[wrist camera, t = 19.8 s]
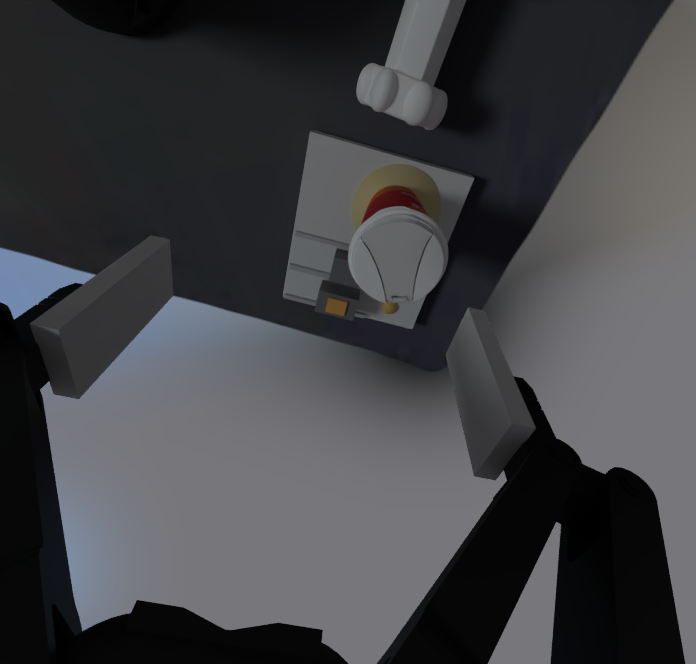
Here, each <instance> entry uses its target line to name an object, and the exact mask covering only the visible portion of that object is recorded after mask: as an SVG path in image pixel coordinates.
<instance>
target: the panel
mask: <svg viewBox="0 0 696 664" xmlns="http://www.w3.org/2000/svg"><path fill="white" fill-rule="evenodd" d="M473 181H474V177H473V176H472V175H470V174H467V173H463V172H460V171H456V170H453V169H449V168H446V167H442V166H439V165H435V164H432V163H428V162H425V161H421V160H418V159H414V158H411V157H407V156H404V155H400V154H397V153H393V152H390V151H386V150H383V149H379V148H376V147H372V146H369V145H365V144H362V143H358V142H355V141H351V140H348V139H344V138H341V137H337V136H334V135H330V134H327V133H323V132H320V131H316V130H312V131H310V135H309V141H308V147H307V153H306V159H305V165H304V171H303V177H302V183H301V189H300V195H299V201H298V207H297V213H296V219H295V225H294V231H293V237H292V243H291V249H290V255H289V261H288V267H287V273H286V279H285V285H284V291H283V297H284V298H286V299H290V300H294V301H297V302H301V303H305V304H309V305H313V306H316V302H317V297H318V293H319V289H320V286H321V283H322V280H325V281H329V282H333V283H337V284H341V285H345V286H349V287H352V288H356V289H360V298H359V303H358V306H357V310H356V313H355V316H356V317H360V318H364V319H365V317H366V318H370V319H374V320H378V321H381V322H385V323H389V324H393V325H397V326H401V327H405V328H409V329H413V326H414V324H415V321H416V319H417V316H418V314H419V312H420V309H421V307H422V304H423V302H424V299H425V297H426V295H427V294H426V295H425V296H424V297H422V298H420V299H418V300H416V301H414V302H413V300H412V301H407V302H404V303H392V302H386V303H384V302H380V301H378V300H376V299H374V298H372V297H371V296H369V295H368V294H367V293H366V292H364V291H363V290H362V289H361V288H360V287H359V286H358V284H357V283H356V282H355V280H354V278H353V277H352V274H351V272H350V268H349V264H348V252H349V246H350V243H351V240H352V238H353V236H354V234H355V232H356V231H357V229H358V228H359V227H360V226H361V223H362V220H363V218H364V215H365V212H366V209H367V207H368V205H369V202H370V200H371V199H372V197H373V196H374V195H375V194H376V193H377V192H378V191H379V190H381V189H382V188H384V187H387V186H392V185H399V186H403V187H406V188H408V189H409V190H411V191H412V192H413V193H414V194H415V195H416V196H417V198H418V199H419V201H420V202H421V204H422V206H423V207H424V209H425V211H426V213H427V214H428V216H429V217H430V218H431V219H432V220H434V221H435V223H436V224H437V225H438V226H439V227H440V229H441V230H442V232H443V233H444V236H445V238H446V241H447V244H448V241H449V239H450V236H451V234H452V232H453V229H454V227H455V224H456V222H457V219H458V217H459V215H460V212H461V210H462V207H463V205H464V202H465V200H466V198H467V195H468V193H469V190H470V188H471V185H472V183H473Z"/></svg>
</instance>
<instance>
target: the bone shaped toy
mask: <svg viewBox="0 0 696 664" xmlns="http://www.w3.org/2000/svg"><path fill="white" fill-rule="evenodd" d="M465 2H466V0H405V3H404V6H403V9H402V13H401V16H400V19H399V22H398V25H397V29H396V32H395V35H394V38H393V41H392V45H391V48H390V51H389V54H388V58H387V61H386V64H385V67H383V66H380V65H377V64H375V63H370V64H368V65H366V66H365V67H364V68H363V70H362V72H361V74H360V76H359V79H358V83H357V88H356V94H357V98H358V100H359V102H360V103H361V104H363V105H368V106H370V107H372V108H373V109H374V110H375V111H376V112H384V113H386V114H389V115H391V116H394V117H396V118H399V119H401V120H404V121H406V122H407V123H408V124H410V125H412V126H416V125H418V126H422V127H424V128H425V129H426V130H432V129H434V128H436V127H437V126H438V125H439V124H440V122H441V121H442V119H443V117H444V115H445V112H446V109H447V103H448V99H447V95H446V93H445V92H444V91H443V90H439V89H437V88H435V87H433V86H434V84H435V81H436V78H437V76H438V73H439V71H440V68H441V65H442V63H443V60H444V57H445V55H446V52H447V50H448V47H449V44H450V42H451V39H452V36H453V34H454V31H455V29H456V26H457V23H458V21H459V18H460V15H461V13H462V10H463V8H464V5H465Z"/></svg>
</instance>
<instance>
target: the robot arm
mask: <svg viewBox="0 0 696 664" xmlns="http://www.w3.org/2000/svg"><path fill="white" fill-rule="evenodd" d="M52 1H53V2H54V3H56V4H57V5H58V6H59V7H61V8H62V9H63V10H65V11H66V12H67V13H69V14H70V15H71V16H73V17H74V18H76V19H78V20H79V21H81V22H83V23H85V24H87V25H89V26H91V27H94V28H96V29H99V30H103V31H107V32H112V33H116V34H122V35H138V34H143V33H146V32H149V31H151V30H153V29H155V28H157V27H158V26H160V25H161V24H162V23H164V22H165V21H166V20H167V19H168V18H169V16H170V15H171V14H172V13H173V11H174V10H175V8H176V6H177V4H178V2H179V0H52ZM172 296H173V284H172V269H171V254H170V240H169V239H165V238H160V237H156V236H150V237H148V238H147V239H145V240H144V241H143V242H141V243H140V244H139V245H137V246H136V247H134V248H133V249H132V250H130V251H129V252H128V253H126V254H125V255H123V256H122V257H121V258H119V259H118V260H117V261H115V262H114V263H112V264H111V265H110V266H108V267H107V268H106V269H104V270H103V271H101V272H100V273H99V274H97V275H96V276H95V277H93V278H92V279H90V280H89V281H88V282H86V283H85V284H84V285H83V284H78V283H74V284H71V285H68V286H66V287H63V288H60V289H58V290H57V291H55V292H54V293H52V294H51V295H50V296H48V298H45V299H44V300H42V301H41V302H39V304H38V305H35V306H33V307H32V308H31V309H29V310H28V311H27V312H25V313H23V314H22V315H21V316H19V317H18V318H16V319H15V320H14V319H13V316H12V314H11V311H10V309H9V307H8V306H7V305H5V304H3V303H0V664H348V663H347V662H346V661H345V660H344V659H343V658H342V657H341V656H340V655H339V654H338V653H337V652H335V651H334V650H333V649H331V648H330V647H329V646H327V645H325V644H323V643H321V641H322V631H323V630H320V629H313V628H307V627H301V626H294V625H289V624H282V623H274V624H268V625H261V626H255V627H249V628H242V629H237V630H225V629H223V628H221V627H218V626H217V625H215V624H213V623H211V622H210V621H208V620H206V619H204V618H202V617H200V616H198V615H196V614H194V613H193V612H191V611H189V610H187V609H185V608H182V607H176V606H170V605H164V604H158V603H152V602H146V601H139V600H137V601H136V603H135V606H134V608H133V610H132V612H131V613H130V614H124V615H121V616H117V617H113V618H110V619H108V620H105V621H103V622H100V623H98V624H96V625H94V626H92V627H90V628H88V629H86V630H84V631H82V627H81V623H80V619H79V616H78V612H77V609H76V606H75V601H74V597H73V591H72V584H71V579H70V571H69V565H68V558H67V552H66V546H65V539H64V533H63V526H62V520H61V513H60V507H59V500H58V494H57V488H56V481H55V474H54V468H53V462H52V455H51V449H50V442H49V436H48V429H47V423H46V416H45V411H44V403H43V398H42V394H41V392H40V389H41V388H42V387H43V386H44V385H45V384H46V383H47V382H48V381H49V382H50V384H51V387H52V390H53V393H54V394H55V395H60V396H66V397H71V398H76V399H79V398H80V397H81V396H82V395H83V394H84V393H85V392H86V390H87V389H88V388H89V387H90V386H91V385H92V384H93V383H94V382H95V381H96V380H97V379H98V377H99V376H100V375H101V374H102V373H103V372H104V371H105V370H106V369H107V368H108V366H109V365H110V364H111V363H112V362H113V361H114V360H115V359H116V358H117V356H118V355H119V354H120V353H121V352H122V351H123V350H124V349H125V348H126V347H127V346H128V345H129V343H130V342H131V341H132V340H133V339H134V338H135V337H136V336H137V335H138V334H139V332H140V331H141V330H142V329H143V328H144V327H145V326H146V325H147V324H148V323H149V321H150V320H151V319H152V318H153V317H154V316H155V315H156V314H157V313H158V311H160V309H161V308H162V307H163V306H164V305H165V304H166V303H167V302H168V301H169V299H170V298H171V297H172ZM446 358H447V362H448V366H449V371H450V375H451V379H452V383H453V387H454V392H455V396H456V401H457V404H458V409H459V413H460V418H461V422H462V426H463V431H464V435H465V439H466V443H467V447H468V452H469V456H470V460H471V464H472V469H473V473H474V476H476V477H481V478H487V479H492V480H496V479H497V478H498V476H499V475H500V474H501V473H502V471H503V470H504V472H505V475H506V478H507V481H506V483H505V484H504V485H503V486H502V488H501V489H500V490H499V491H498V493H497V494H496V495H495V496H494V498H493V501H492V502H491V504H490V505H489V507H488V508H487V509H486V511H485V512H484V514H483V515H482V516H481V518H480V519H479V521H478V522H477V523H476V525H475V526H474V528H473V529H472V531H471V532H470V533H469V535H468V536H467V538H466V539H465V540H464V542H463V543H462V545H461V546H460V548H459V549H458V551H457V552H456V553H455V555H454V556H453V558H452V559H451V560H450V562H449V563H448V565H447V566H446V567H445V569H444V571H443V572H442V573H441V575H440V576H439V578H438V579H437V580H436V582H435V583H434V585H433V586H432V588H431V589H430V590H429V592H428V593H427V595H426V596H425V597H424V599H423V600H422V602H421V603H420V605H419V606H418V607H417V609H416V610H415V612H414V613H413V614H412V616H411V617H410V619H409V620H408V622H407V623H406V625H405V626H404V627H403V629H402V630H401V631H400V633H399V634H398V636H397V637H396V639H395V640H394V641H393V643H392V644H391V646H390V647H389V648H388V650H387V651H386V653H385V654H384V655H383V656H382V658H381V659H380V660H379V662H378V663H377V664H488V662H489V659H490V657H491V655H492V653H493V651H494V649H495V647H496V645H497V643H498V641H499V639H500V637H501V635H502V633H503V631H504V629H505V626H506V624H507V622H508V620H509V618H510V616H511V614H512V612H513V610H514V608H515V606H516V604H517V602H518V600H519V597H520V595H521V593H522V591H523V589H524V587H525V585H526V583H527V581H528V579H529V577H530V575H531V573H532V571H533V569H534V566H535V564H536V562H537V560H538V558H539V556H540V554H541V552H542V550H543V548H544V546H545V544H546V542H547V540H548V538H549V536H550V534H551V531H552V529H553V527H554V525H555V523H556V522H558V523H560V524H561V535H560V548H559V560H558V574H557V587H556V600H555V613H554V627H553V640H552V653H551V654H552V655H551V664H685V660H684V654H683V648H682V642H681V637H680V631H679V625H678V620H677V614H676V608H675V602H674V597H673V591H672V586H671V580H670V575H669V568H668V563H667V557H666V551H665V545H664V540H663V535H662V528H661V522H660V517H659V511H658V505H657V500H656V497H655V495H654V492H653V491H652V490H651V488H650V487H649V486H648V485H647V483H646V482H644V480H642V479H641V478H640V477H639V476H637V475H636V474H634V473H633V472H631V471H629V470H626V469H623V468H618V467H614V468H612V469H610V470H609V471H608V472H607V473H606V474H603V473H600V472H598V471H596V470H594V469H592V468H590V467H587V466H585V465H583V464H582V462H581V460H580V457H579V456H578V454H577V453H576V452H575V451H574V450H573V449H572V448H571V447H570V446H569V445H568V444H566V443H564V442H563V441H561V440H559V439H556V437H555V435H554V433H553V431H552V428H551V426H550V424H549V422H548V420H547V418H546V416H545V414H544V412H543V410H541V406H540V404H539V402H538V401H537V398H536V395H535V393H534V391H533V389H532V388H531V387H530V386H529V385H528V383H527V382H526V381H525V380H524V379H523V378H519V377H514V376H513V375H512V372H511V370H510V368H509V366H508V363H507V361H506V359H505V356H504V354H503V352H502V350H501V348H500V345H499V343H498V341H497V338H496V336H495V334H494V331H493V329H492V327H491V325H490V323H489V320H488V318H487V316H486V313H485V311H482V310H477V309H473V308H469V307H468V309H467V311H466V313H465V315H464V317H463V319H462V321H461V324H460V326H459V328H458V330H457V332H456V334H455V336H454V338H453V340H452V342H451V344H450V347H449V349H448V351H447V353H446Z"/></svg>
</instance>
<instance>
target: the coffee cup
mask: <svg viewBox="0 0 696 664" xmlns="http://www.w3.org/2000/svg"><path fill="white" fill-rule="evenodd" d="M447 263H448V245H447V241H446V238H445V236H444V233H443V232H442V230H441V229H440V227H439V226H438V225H437V224H436V223H435V221H434V220H432V219H431V218H430V217H429V216H428V214H427V213H426V211H425V209H424V207H423V206H422V204H421V202H420V201H419V199H418V198H417V196H416V195H415V194H414V193H413V192H412V191H411V190H409V189H408V188H406V187H403V186H399V185H392V186H387V187H384V188H382V189H381V190H379V191H378V192H377V193H376V194H375V195H374V196H373V197H372V199H371V200H370V202H369V205H368V207H367V209H366V212H365V215H364V218H363V220H362V223H361V226H360V227H359V228H358V229H357V231H356V232H355V234H354V236H353V238H352V240H351V243H350V246H349V252H348V264H349V268H350V272H351V274H352V277H353V278H354V280H355V282H356V283H357V284H358V286H359V287H360V288H361V289H362V290H363V291H364V292H366V293H367V294H368V295H369V296H371V297H372V298H374V299H376V300H378V301H380V302H384V303H386V302H392V303H404V302H407V301H412V300H413V302H414V301H416V300H418V299H420V298H422V297H424V296H425V295H426V294H428V293H429V292H430V291H431V290H432V289H433V288H434V287H435V286H436V284H437V283H438V282H439V280H440V279H441V278H442V276H443V274H444V272H445V269H446V266H447Z"/></svg>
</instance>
